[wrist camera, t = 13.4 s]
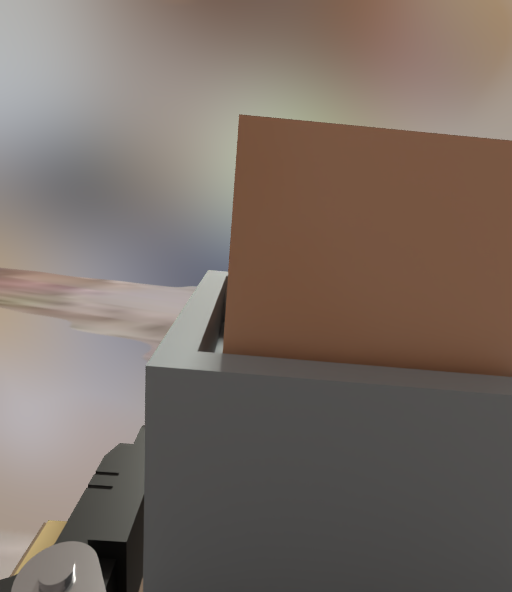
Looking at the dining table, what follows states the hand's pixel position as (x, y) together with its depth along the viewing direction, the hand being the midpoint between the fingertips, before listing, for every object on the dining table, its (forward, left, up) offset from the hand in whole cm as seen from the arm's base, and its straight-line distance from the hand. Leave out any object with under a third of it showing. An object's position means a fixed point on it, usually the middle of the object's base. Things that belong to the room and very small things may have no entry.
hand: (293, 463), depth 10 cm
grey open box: (0, -2, -8) cm, 8 cm away
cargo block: (0, -2, +4) cm, 5 cm away
